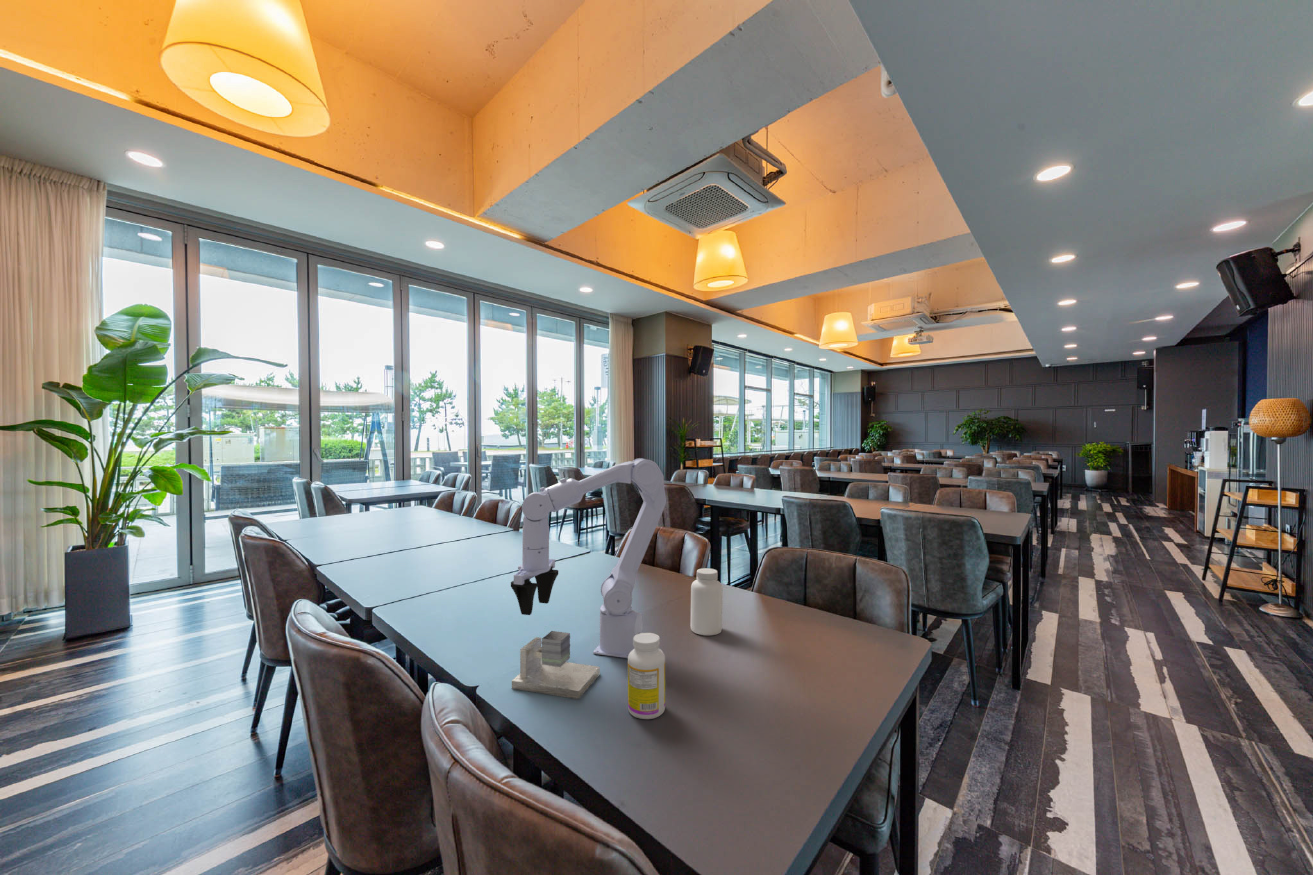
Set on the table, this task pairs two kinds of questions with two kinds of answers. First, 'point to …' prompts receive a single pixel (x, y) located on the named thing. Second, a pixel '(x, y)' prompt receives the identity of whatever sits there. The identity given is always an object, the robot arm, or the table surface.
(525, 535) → the robot arm
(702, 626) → the pill bottle
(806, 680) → the table surface
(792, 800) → the table surface
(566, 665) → the stand frame
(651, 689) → the supplement bottle
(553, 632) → the grey stacked block
